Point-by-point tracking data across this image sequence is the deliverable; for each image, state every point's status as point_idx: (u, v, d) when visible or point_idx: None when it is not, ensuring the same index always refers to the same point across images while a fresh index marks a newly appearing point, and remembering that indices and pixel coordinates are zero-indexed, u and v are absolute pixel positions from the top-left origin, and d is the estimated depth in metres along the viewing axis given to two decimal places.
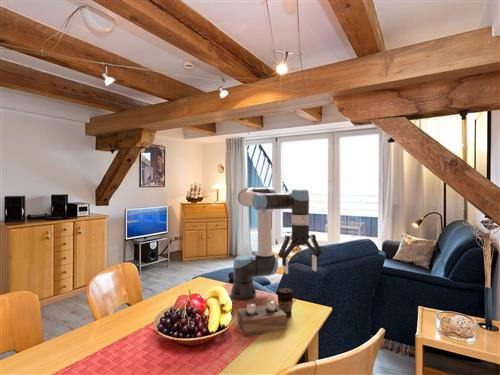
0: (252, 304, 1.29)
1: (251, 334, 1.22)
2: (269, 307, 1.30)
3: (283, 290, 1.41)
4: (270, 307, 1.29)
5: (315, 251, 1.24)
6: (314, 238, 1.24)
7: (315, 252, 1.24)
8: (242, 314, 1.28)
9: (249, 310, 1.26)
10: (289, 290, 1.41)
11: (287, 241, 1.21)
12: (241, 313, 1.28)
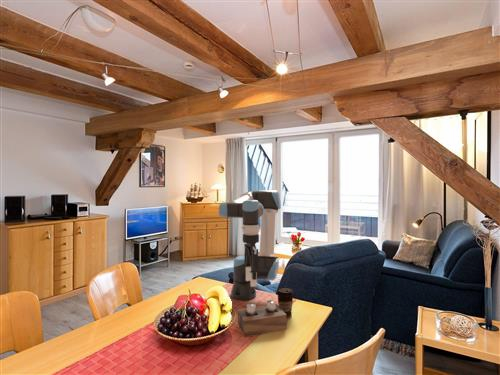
0: (252, 304, 1.29)
1: (251, 334, 1.22)
2: (269, 307, 1.30)
3: (283, 290, 1.41)
4: (270, 307, 1.29)
5: (251, 266, 1.23)
6: (252, 253, 1.22)
7: (251, 267, 1.24)
8: (242, 314, 1.28)
9: (249, 310, 1.26)
10: (289, 290, 1.41)
11: None
12: (241, 313, 1.28)
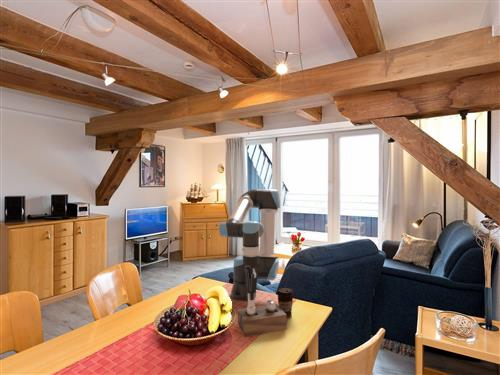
0: None
1: (251, 334, 1.22)
2: (269, 307, 1.30)
3: (283, 290, 1.41)
4: (270, 307, 1.29)
5: (249, 287, 1.26)
6: (251, 276, 1.23)
7: (249, 288, 1.26)
8: (242, 314, 1.28)
9: (249, 312, 1.26)
10: (289, 290, 1.41)
11: (245, 271, 1.32)
12: (241, 313, 1.28)
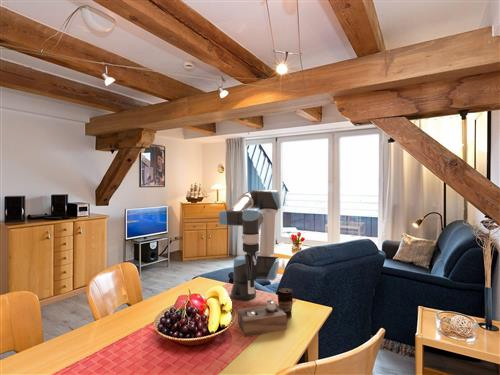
0: (252, 312, 1.29)
1: (251, 334, 1.22)
2: (269, 307, 1.30)
3: (283, 290, 1.41)
4: (270, 307, 1.29)
5: (249, 275, 1.26)
6: (251, 264, 1.23)
7: (249, 275, 1.27)
8: (242, 314, 1.28)
9: None
10: (289, 290, 1.41)
11: (245, 259, 1.32)
12: (241, 313, 1.28)
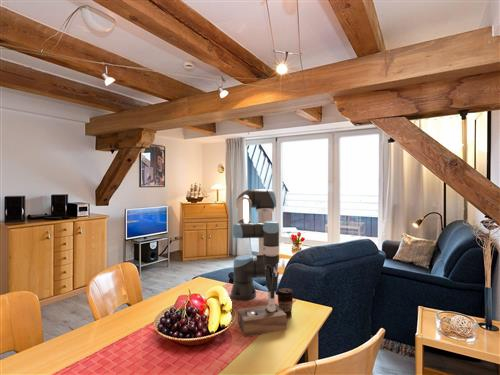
0: (252, 312, 1.29)
1: (251, 334, 1.22)
2: (269, 310, 1.30)
3: (283, 290, 1.41)
4: (270, 310, 1.29)
5: (270, 286, 1.29)
6: (272, 275, 1.26)
7: (270, 287, 1.29)
8: (242, 314, 1.28)
9: None
10: (289, 290, 1.41)
11: (265, 270, 1.35)
12: (241, 313, 1.28)
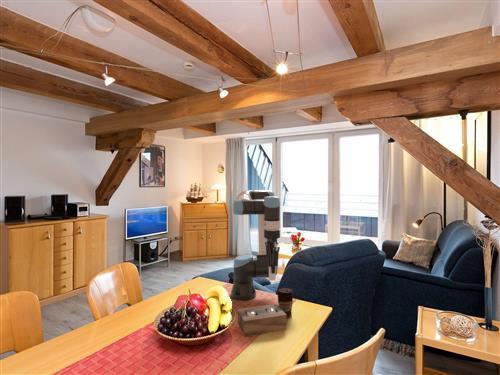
0: (252, 312, 1.29)
1: (251, 334, 1.22)
2: None
3: (283, 290, 1.41)
4: None
5: (270, 261, 1.28)
6: (273, 250, 1.25)
7: (270, 262, 1.28)
8: (242, 314, 1.28)
9: None
10: (289, 290, 1.41)
11: (266, 246, 1.34)
12: (241, 313, 1.28)
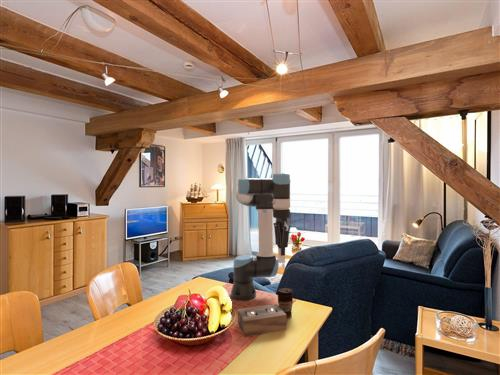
0: (252, 312, 1.29)
1: (251, 334, 1.22)
2: None
3: (283, 290, 1.41)
4: None
5: (280, 242, 1.20)
6: (283, 229, 1.16)
7: (280, 243, 1.20)
8: (242, 314, 1.28)
9: None
10: (289, 290, 1.41)
11: (274, 227, 1.26)
12: (241, 313, 1.28)
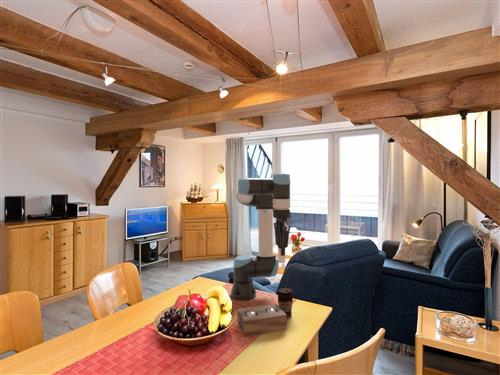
0: (252, 312, 1.29)
1: (251, 334, 1.22)
2: None
3: (283, 290, 1.41)
4: None
5: (280, 242, 1.20)
6: (283, 229, 1.16)
7: (280, 243, 1.20)
8: (242, 314, 1.28)
9: None
10: (289, 290, 1.41)
11: (274, 227, 1.26)
12: (241, 313, 1.28)
